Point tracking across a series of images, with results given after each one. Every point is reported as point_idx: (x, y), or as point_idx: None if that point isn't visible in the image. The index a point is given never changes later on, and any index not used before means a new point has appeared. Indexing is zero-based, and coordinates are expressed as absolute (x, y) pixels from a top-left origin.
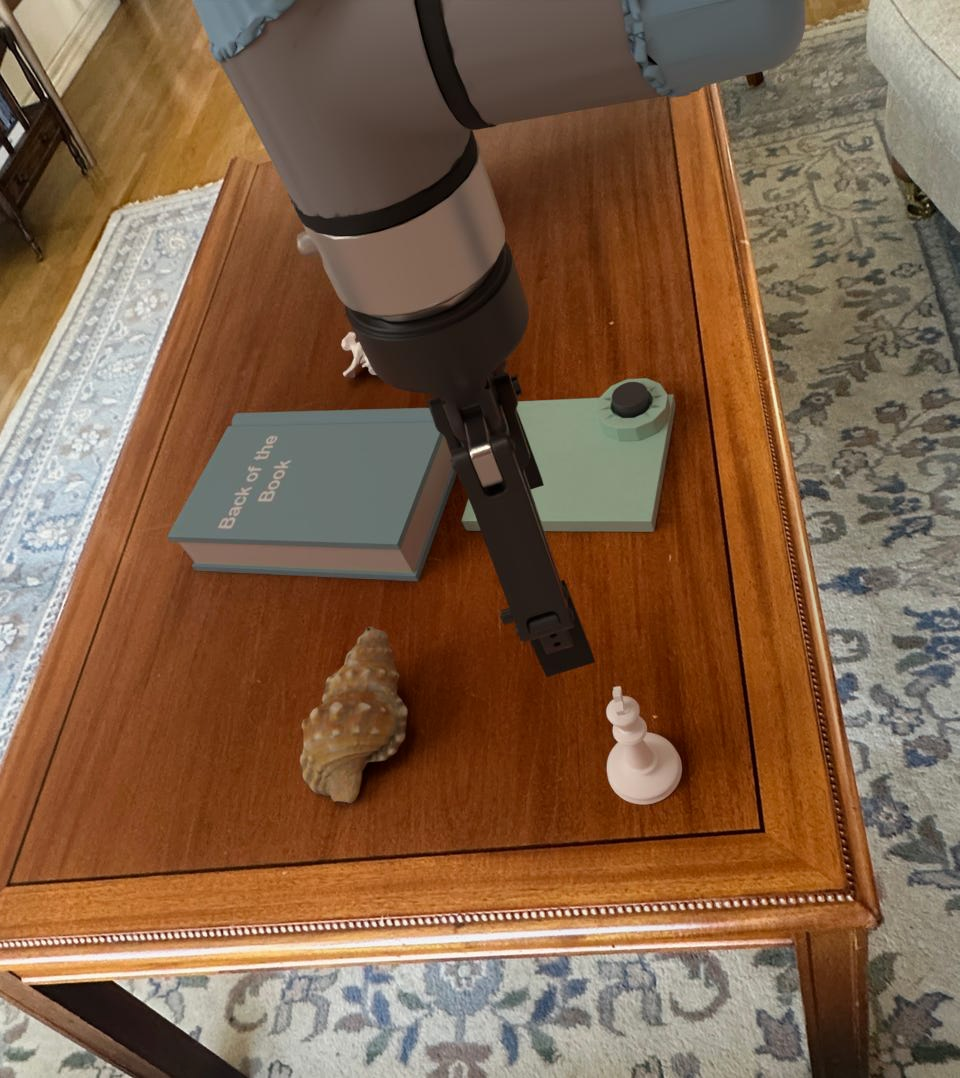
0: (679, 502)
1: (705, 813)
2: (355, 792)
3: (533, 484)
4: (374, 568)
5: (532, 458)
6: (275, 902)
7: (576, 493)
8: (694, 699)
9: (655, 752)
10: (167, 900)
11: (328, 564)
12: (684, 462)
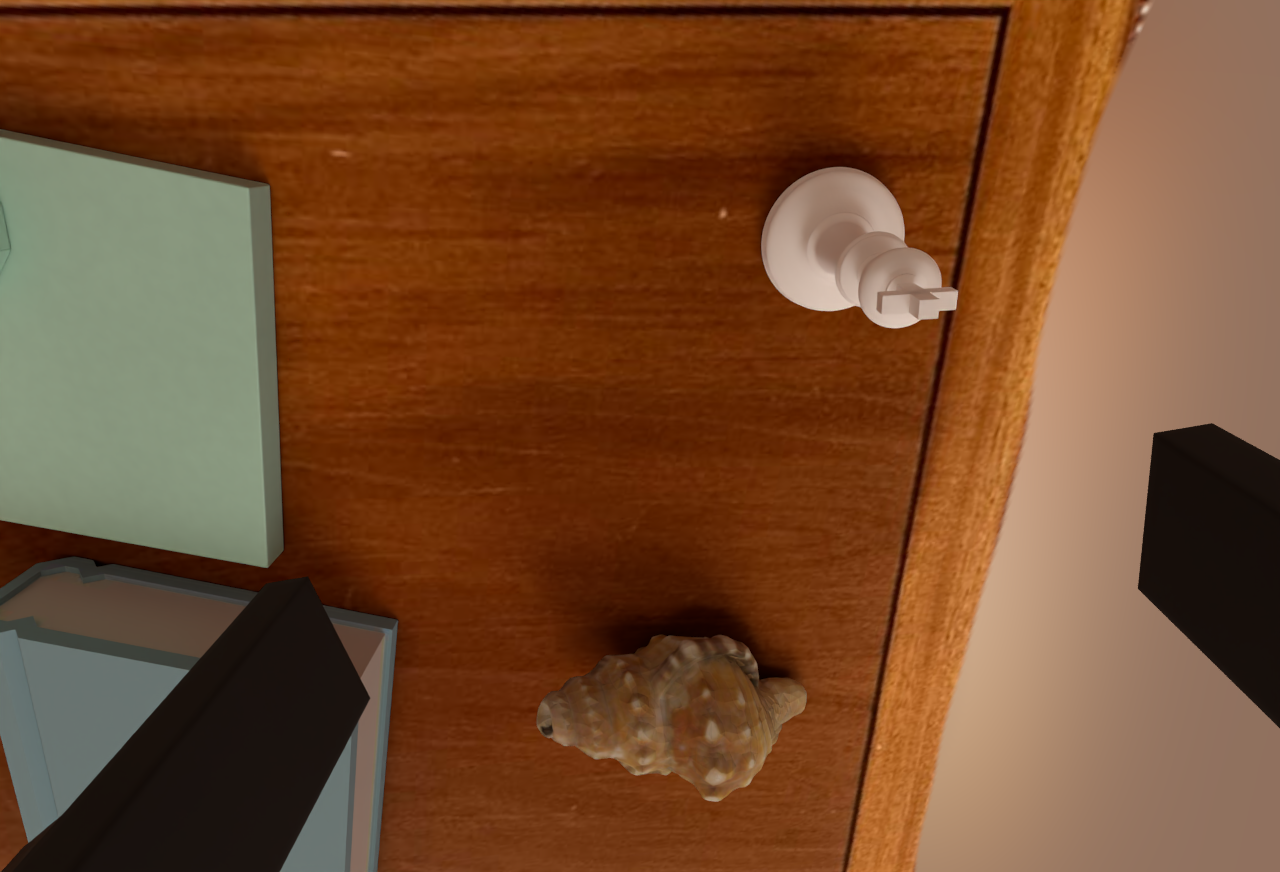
0: (180, 117)
1: (942, 127)
2: (794, 686)
3: (312, 619)
4: (378, 693)
5: (216, 699)
6: (918, 752)
7: (180, 353)
8: (697, 127)
9: (836, 216)
10: (882, 859)
11: (371, 759)
12: (54, 94)
